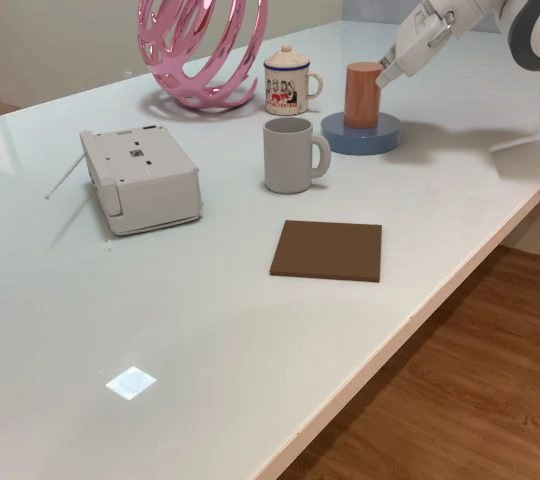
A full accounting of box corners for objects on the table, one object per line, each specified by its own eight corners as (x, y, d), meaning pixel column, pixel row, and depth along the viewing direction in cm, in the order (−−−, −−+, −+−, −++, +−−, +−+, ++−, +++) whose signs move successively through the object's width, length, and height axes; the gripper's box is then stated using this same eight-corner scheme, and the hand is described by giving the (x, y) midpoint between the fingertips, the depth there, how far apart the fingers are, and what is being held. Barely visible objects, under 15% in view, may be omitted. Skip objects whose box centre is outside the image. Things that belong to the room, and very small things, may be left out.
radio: (170, 167, 92) (46, 190, 87) (162, 115, 87) (29, 136, 82) (208, 220, 78) (61, 252, 72) (201, 162, 72) (42, 192, 67)
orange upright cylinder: (378, 117, 99) (383, 61, 93) (377, 129, 95) (383, 71, 89) (344, 116, 100) (347, 61, 94) (342, 128, 95) (345, 71, 90)
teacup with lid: (257, 113, 112) (254, 48, 104) (275, 100, 118) (273, 38, 110) (314, 120, 108) (315, 53, 100) (329, 105, 114) (331, 41, 107)
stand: (399, 127, 103) (401, 110, 101) (399, 156, 93) (401, 138, 91) (323, 125, 105) (324, 109, 103) (316, 153, 95) (316, 136, 93)
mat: (381, 228, 74) (382, 224, 74) (379, 282, 65) (379, 277, 64) (285, 223, 76) (285, 219, 76) (269, 274, 67) (269, 270, 66)
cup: (270, 173, 89) (268, 115, 83) (332, 177, 87) (335, 118, 82) (260, 192, 84) (257, 132, 78) (326, 197, 82) (328, 135, 76)
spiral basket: (266, -25, 121) (162, -112, 101) (330, 33, 106) (224, -55, 87) (199, 91, 134) (96, 34, 114) (248, 156, 120) (140, 103, 100)
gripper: (469, 39, 78) (390, 111, 85) (457, 11, 93) (390, 74, 101) (442, 2, 75) (363, 79, 83) (434, -21, 90) (368, 46, 98)
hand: (378, 76), depth 92 cm, fingers open, 8 cm apart
